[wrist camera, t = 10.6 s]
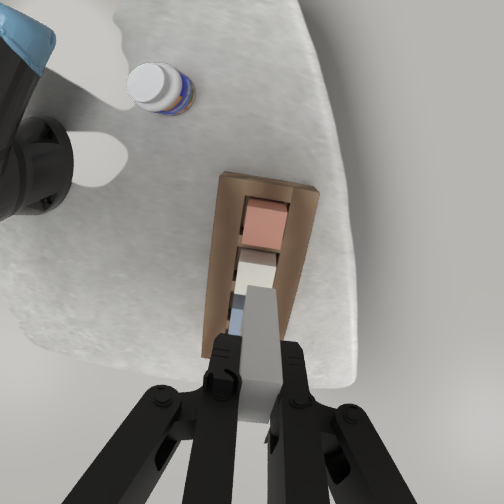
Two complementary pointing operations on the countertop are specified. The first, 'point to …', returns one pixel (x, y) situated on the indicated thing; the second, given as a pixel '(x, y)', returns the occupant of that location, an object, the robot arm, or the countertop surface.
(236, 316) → the key blue
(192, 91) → the pill bottle
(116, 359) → the countertop surface
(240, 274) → the key ivory
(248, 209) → the key brick
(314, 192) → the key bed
